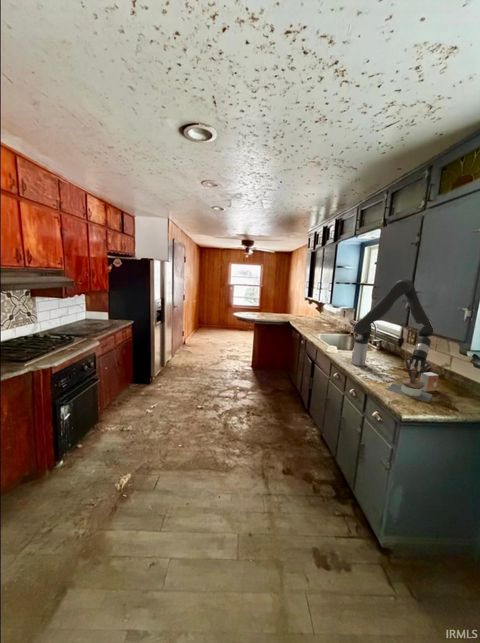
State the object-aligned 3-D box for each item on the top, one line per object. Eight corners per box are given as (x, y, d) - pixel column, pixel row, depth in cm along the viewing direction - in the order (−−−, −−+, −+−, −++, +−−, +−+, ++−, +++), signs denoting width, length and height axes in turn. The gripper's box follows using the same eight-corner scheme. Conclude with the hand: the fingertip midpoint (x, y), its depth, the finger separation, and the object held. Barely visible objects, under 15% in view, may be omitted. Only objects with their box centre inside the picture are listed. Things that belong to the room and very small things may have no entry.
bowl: (399, 392, 172) (400, 385, 171) (403, 388, 180) (404, 380, 179) (418, 398, 166) (419, 390, 165) (421, 393, 173) (423, 385, 172)
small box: (425, 392, 176) (428, 375, 174) (418, 388, 182) (420, 372, 180) (436, 391, 179) (439, 375, 176) (428, 387, 184) (431, 371, 182)
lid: (398, 383, 171) (400, 370, 170) (403, 378, 180) (405, 365, 178) (421, 389, 163) (424, 376, 162) (426, 383, 172) (428, 371, 171)
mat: (386, 390, 176) (386, 389, 176) (392, 384, 187) (392, 383, 186) (428, 402, 162) (428, 402, 162) (432, 395, 172) (432, 394, 172)
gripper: (407, 346, 178) (399, 370, 171) (434, 351, 169) (426, 377, 162) (408, 353, 183) (400, 376, 176) (434, 358, 174) (426, 383, 167)
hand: (412, 376), depth 169 cm, fingers closed on lid, 2 cm apart
